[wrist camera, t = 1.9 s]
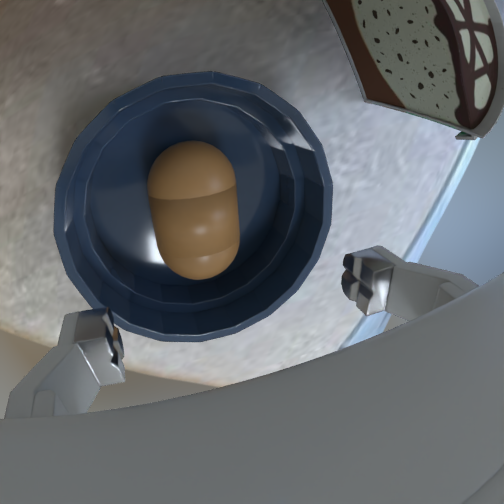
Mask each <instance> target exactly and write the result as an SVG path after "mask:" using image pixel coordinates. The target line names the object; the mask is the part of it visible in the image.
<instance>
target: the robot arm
mask: <svg viewBox="0 0 504 504" xmlns="http://www.w3.org/2000/svg"><path fill="white" fill-rule="evenodd" d="M343 266H344V268H345V269H346V270H345V272H344V273H343V275H342V281H341V285H342V289H343V292H344V294H345V295H346V296H347V297H348V299H349V300H352V301H356V306H357V307H358V308H359V309H360V310H361V311H362V312H363V313H364V314H365V315H366V316H369V315H372V314H375V313H378V312H381V311H384V310H385V311H386V312H388V313H391V314H393V315H395V316H398V317H400V318H402V319H405V320H407V321H409V322H406V323H404V324H402V325H400V326H397V327H395V328H393V329H391V330H388V331H386V332H383V333H381V334H379V335H376V336H374V337H371V338H369V339H366V340H364V341H361V342H359V343H356V344H354V345H351V346H349V347H346V348H343V349H341V350H338V351H335V352H333V353H330V354H327V355H324V356H322V357H319V358H316V359H313V360H310V361H307V362H304V363H301V364H298V365H295V366H292V367H289V368H286V369H283V370H280V371H277V372H273V373H270V374H267V375H263V376H260V377H257V378H253V379H250V380H246V381H243V382H239V383H235V384H231V385H228V386H224V387H220V388H216V389H212V390H208V391H204V392H200V393H196V394H191V395H187V396H182V397H178V398H173V399H168V400H163V401H158V402H153V403H147V404H142V405H136V406H130V407H124V408H118V409H111V410H104V411H97V412H89V413H87V411H88V409H89V407H90V406H91V404H92V402H93V400H94V399H95V397H96V395H97V393H98V392H99V390H100V387H101V386H106V385H112V384H116V383H122V382H125V367H124V364H123V362H122V359H123V357H124V348H123V343H122V339H121V335H120V333H119V330H118V328H116V327H115V326H114V316H113V314H112V311H111V309H110V308H109V307H103V308H97V309H91V310H86V311H80V312H74V313H69V314H66V315H65V316H64V320H63V324H62V328H61V332H60V336H59V341H58V345H57V346H56V347H53V348H52V349H51V350H50V351H49V352H48V353H47V354H46V355H45V356H44V357H43V358H42V359H41V360H40V361H39V362H38V363H37V364H36V365H35V366H34V367H33V369H32V370H31V371H30V372H29V373H28V374H27V375H26V376H25V377H24V378H23V379H22V380H21V381H20V382H19V383H18V384H17V386H16V387H15V388H14V389H13V390H12V391H11V392H10V395H9V399H8V404H7V408H6V413H5V418H4V419H0V504H504V272H503V273H502V274H500V275H498V276H497V277H495V278H493V279H491V280H489V281H488V282H486V283H484V284H482V285H481V286H478V285H477V284H476V283H474V282H473V281H471V280H470V279H468V278H467V277H465V276H464V275H462V274H458V273H454V272H450V271H446V270H442V269H438V268H434V267H430V266H425V265H421V264H417V263H413V262H405V261H404V260H402V259H401V258H399V257H398V256H396V255H395V254H393V253H392V252H390V251H389V250H387V249H386V248H384V247H383V246H379V245H377V246H374V247H371V248H368V249H364V250H361V251H357V252H353V253H350V254H346V255H345V257H344V260H343Z"/></svg>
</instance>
